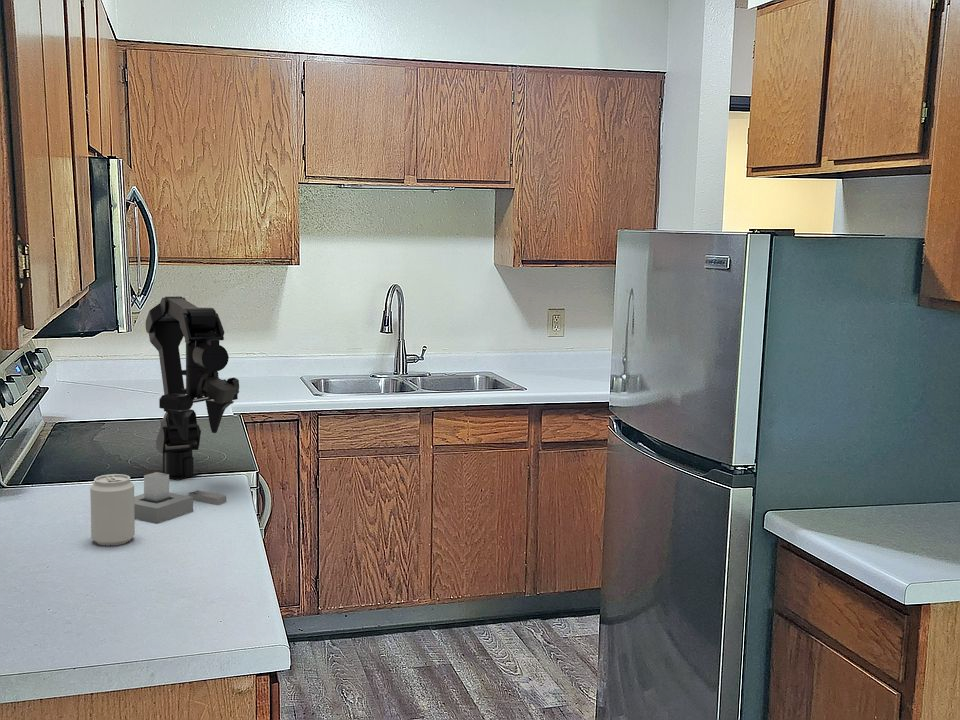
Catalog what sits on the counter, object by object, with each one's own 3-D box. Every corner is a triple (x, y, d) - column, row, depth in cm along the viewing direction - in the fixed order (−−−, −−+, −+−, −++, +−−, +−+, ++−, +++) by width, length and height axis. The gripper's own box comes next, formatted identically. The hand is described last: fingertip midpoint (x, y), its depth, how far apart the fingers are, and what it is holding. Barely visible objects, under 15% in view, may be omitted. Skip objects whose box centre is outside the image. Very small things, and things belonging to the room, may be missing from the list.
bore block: (119, 515, 193) (119, 500, 192) (156, 503, 202) (156, 490, 201) (157, 523, 188) (157, 508, 188) (193, 511, 197) (193, 496, 197)
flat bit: (188, 501, 206) (188, 493, 206) (197, 498, 208) (197, 490, 208) (217, 507, 202) (217, 498, 202) (226, 503, 205) (226, 495, 205)
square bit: (144, 514, 194) (143, 475, 193) (156, 510, 197) (156, 472, 196) (157, 516, 193) (156, 477, 192) (169, 512, 196) (169, 474, 195)
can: (99, 549, 172) (98, 484, 171) (85, 538, 178) (84, 475, 176) (140, 542, 177) (140, 478, 175) (126, 532, 183) (125, 470, 181)
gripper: (198, 373, 197) (198, 448, 199) (257, 364, 213) (256, 433, 215) (157, 369, 201) (157, 442, 203) (217, 360, 218) (217, 427, 220)
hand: (199, 436), depth 210 cm, fingers open, 9 cm apart
